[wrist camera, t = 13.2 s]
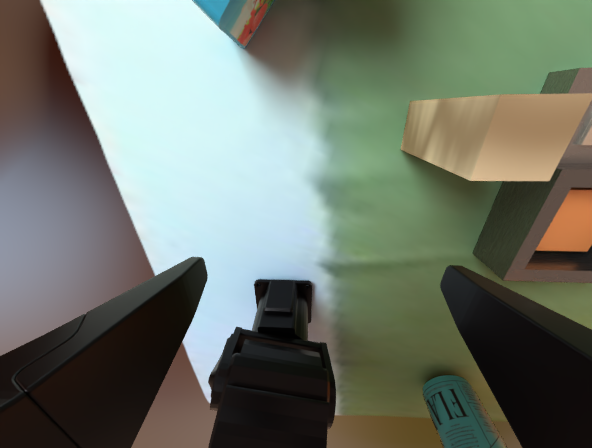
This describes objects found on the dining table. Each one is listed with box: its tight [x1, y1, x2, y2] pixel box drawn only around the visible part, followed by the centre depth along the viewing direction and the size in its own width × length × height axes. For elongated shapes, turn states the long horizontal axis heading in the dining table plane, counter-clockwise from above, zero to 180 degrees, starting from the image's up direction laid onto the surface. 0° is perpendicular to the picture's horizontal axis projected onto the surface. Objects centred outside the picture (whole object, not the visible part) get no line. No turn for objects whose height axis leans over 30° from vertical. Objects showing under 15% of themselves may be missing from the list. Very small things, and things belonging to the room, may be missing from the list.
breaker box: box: [473, 68, 592, 283], centre depth 17 cm, size 15×9×4 cm, turn 1°
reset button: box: [536, 187, 592, 252], centre depth 19 cm, size 6×6×2 cm
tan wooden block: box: [401, 93, 592, 181], centre depth 14 cm, size 4×4×9 cm
